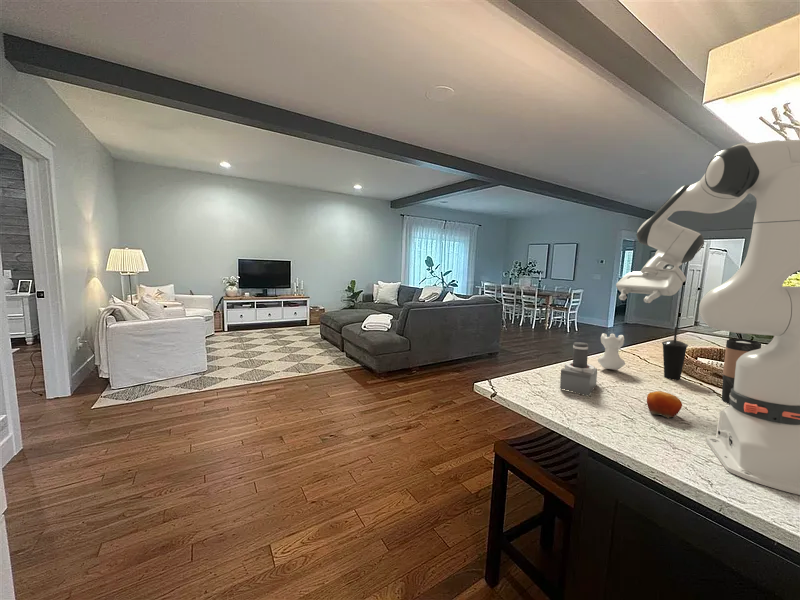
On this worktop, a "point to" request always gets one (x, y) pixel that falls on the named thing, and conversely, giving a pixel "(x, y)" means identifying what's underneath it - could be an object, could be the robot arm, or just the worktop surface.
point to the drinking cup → (673, 357)
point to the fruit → (663, 404)
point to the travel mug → (734, 362)
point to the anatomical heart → (611, 352)
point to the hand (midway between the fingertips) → (633, 300)
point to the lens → (580, 354)
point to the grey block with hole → (578, 378)
